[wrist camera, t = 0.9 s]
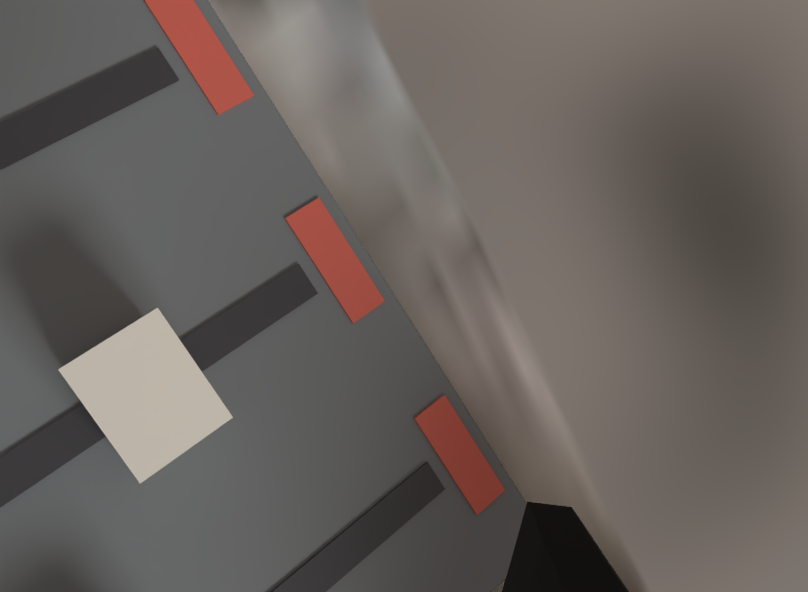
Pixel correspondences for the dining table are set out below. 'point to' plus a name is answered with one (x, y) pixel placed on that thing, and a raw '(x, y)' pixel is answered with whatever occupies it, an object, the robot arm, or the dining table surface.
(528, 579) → the robot arm
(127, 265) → the breaker panel
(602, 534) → the dining table surface
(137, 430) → the handle mid
